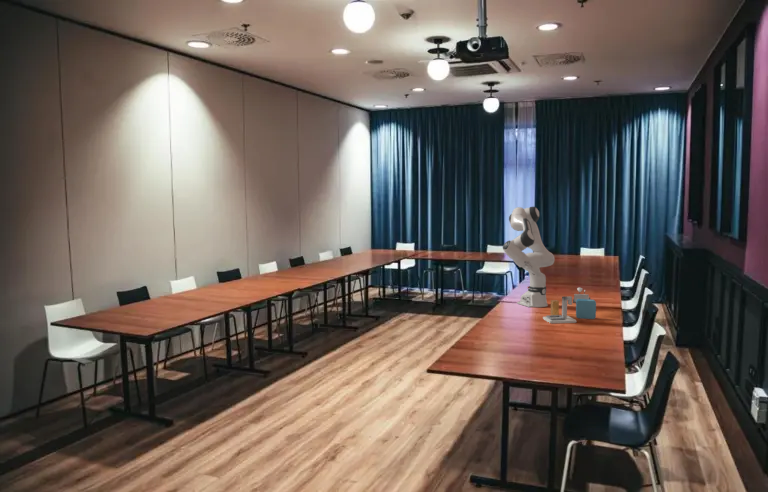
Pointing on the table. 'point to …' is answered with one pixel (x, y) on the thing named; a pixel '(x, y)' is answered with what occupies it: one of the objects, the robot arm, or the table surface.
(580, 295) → the toy car
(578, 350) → the table surface
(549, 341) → the table surface
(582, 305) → the data package
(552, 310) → the wooden square pillar
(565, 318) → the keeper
